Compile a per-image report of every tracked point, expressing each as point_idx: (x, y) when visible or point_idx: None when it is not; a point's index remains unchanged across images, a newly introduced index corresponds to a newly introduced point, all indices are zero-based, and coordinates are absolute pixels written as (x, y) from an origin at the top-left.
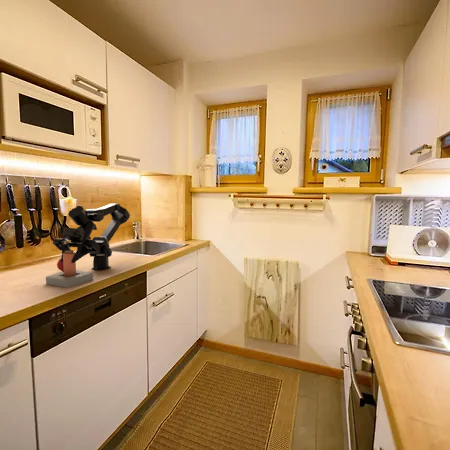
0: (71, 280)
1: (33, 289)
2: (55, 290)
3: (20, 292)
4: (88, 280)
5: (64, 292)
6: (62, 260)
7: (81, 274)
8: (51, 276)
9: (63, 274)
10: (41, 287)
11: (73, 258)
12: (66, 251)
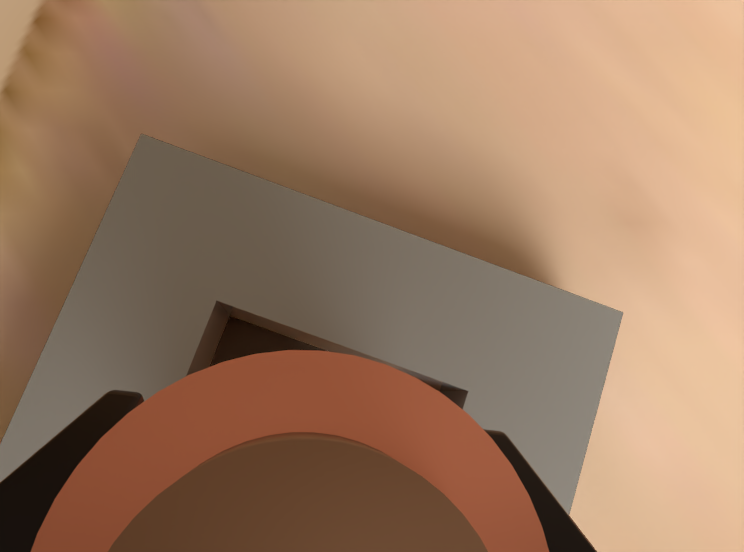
0: (115, 216)
1: (565, 108)
2: (267, 80)
3: (627, 8)
4: None
5: (103, 12)
6: None
7: None
8: (539, 327)
9: None
10: (526, 184)
11: (65, 458)
12: (351, 501)
